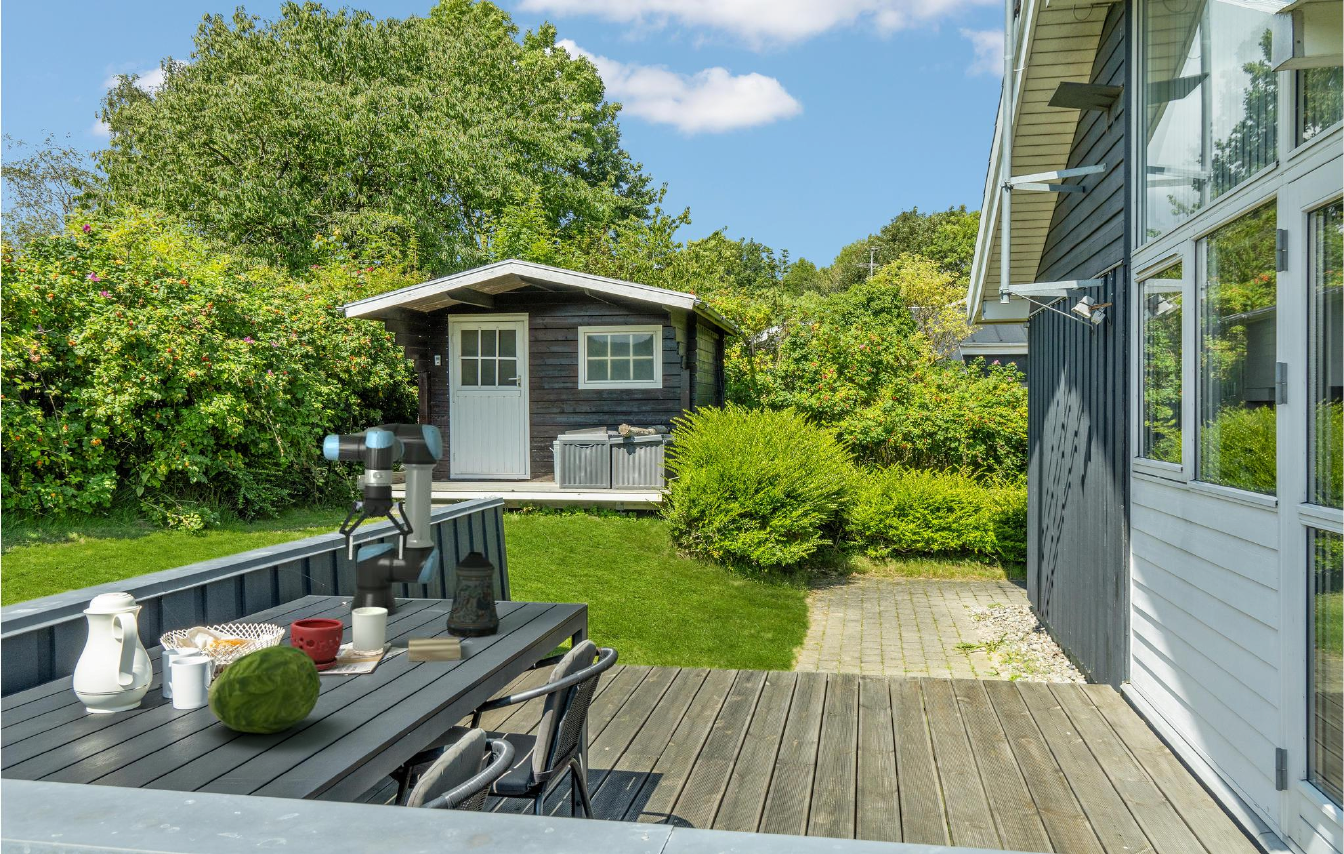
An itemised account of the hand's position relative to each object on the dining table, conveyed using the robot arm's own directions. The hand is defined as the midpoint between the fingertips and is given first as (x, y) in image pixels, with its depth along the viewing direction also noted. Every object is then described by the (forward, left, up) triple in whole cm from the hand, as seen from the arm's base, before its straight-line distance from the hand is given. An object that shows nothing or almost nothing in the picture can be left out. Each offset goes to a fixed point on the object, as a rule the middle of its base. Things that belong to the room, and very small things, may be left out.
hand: (375, 558), depth 261 cm
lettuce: (+61, -21, -27) cm, 70 cm away
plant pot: (+13, -14, -27) cm, 33 cm away
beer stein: (-22, +29, -27) cm, 45 cm away
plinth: (+5, +17, -27) cm, 32 cm away
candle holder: (0, -1, -27) cm, 27 cm away
